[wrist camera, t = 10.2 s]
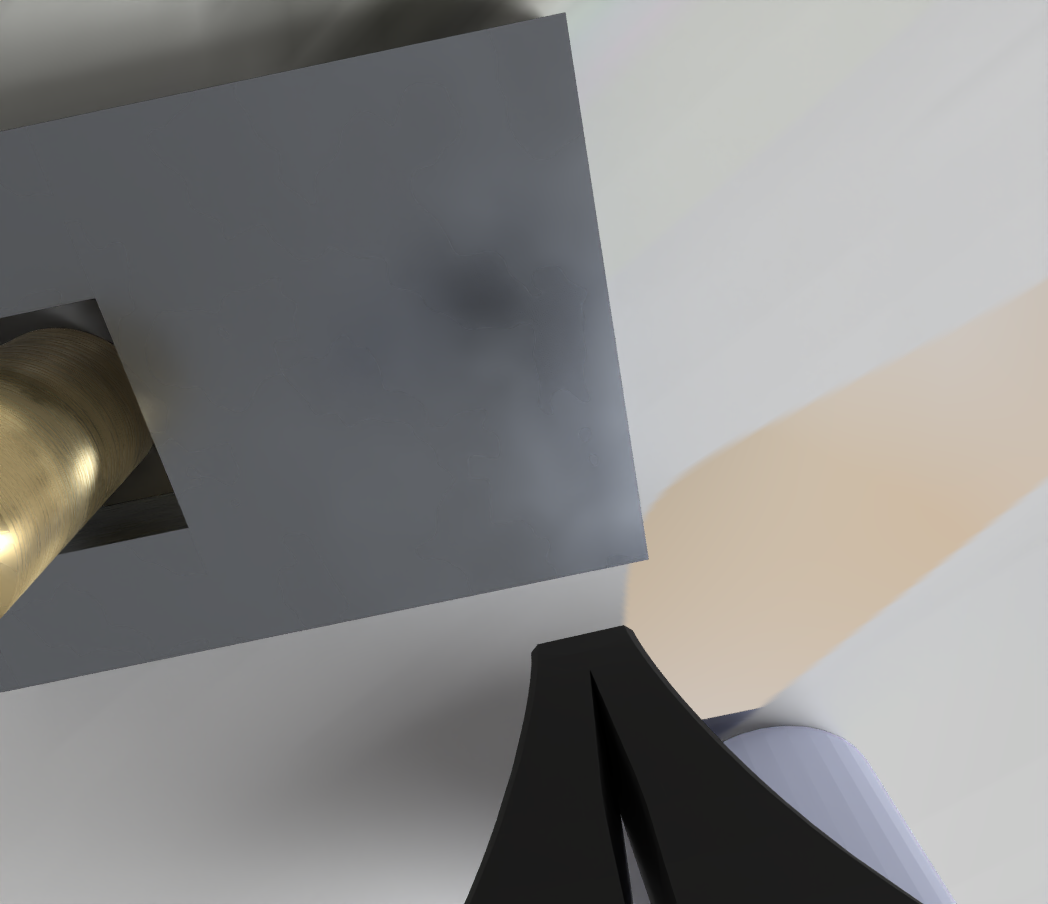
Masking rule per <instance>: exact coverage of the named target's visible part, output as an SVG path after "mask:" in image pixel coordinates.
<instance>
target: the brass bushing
mask: <svg viewBox="0 0 1048 904" xmlns="http://www.w3.org/2000/svg"><path fill="white" fill-rule="evenodd" d="M153 443H154V441H153V439H152V436H151V434H150V431H149V429H148V426H147V424H146V421H145V419H144V417H143V414H142V412H141V409H140V407H139V404H138V402H137V399H136V397H135V394H134V392H133V389H132V387H131V385H130V382H129V380H128V377H127V375H126V372H125V370H124V367H123V365H122V362H121V360H120V358H119V355H118V353H117V350H116V348H115V346H114V345H112V344H111V343H109V342H107V341H105V340H103V339H101V338H99V337H97V336H94V335H92V334H89V333H86V332H82V331H78V330H74V329H67V328H46V329H39V330H35V331H31V332H28V333H25V334H23V335H21V336H18V337H16V338H14V339H13V340H11V341H9V342H7V343H5V344H3V345H1V346H0V619H1V617H2V616H3V615H4V614H5V613H6V612H7V611H8V610H9V609H10V607H11V606H12V605H13V604H14V603H15V602H16V601H17V600H18V598H19V597H20V596H21V595H22V594H23V593H24V592H25V591H26V590H27V588H28V587H29V586H30V585H31V584H32V583H33V582H34V581H35V580H36V578H37V577H38V576H39V575H40V574H41V573H42V572H43V571H44V569H45V568H46V567H47V566H48V565H49V564H50V563H51V562H52V561H53V559H54V558H55V557H56V556H57V555H58V554H59V553H60V552H61V551H62V549H63V548H64V547H65V546H66V545H67V544H68V543H69V542H70V541H71V539H72V538H73V537H74V536H75V535H76V534H77V533H78V532H79V530H80V529H81V528H82V527H83V526H84V525H85V524H86V523H87V522H88V520H89V519H90V518H91V517H92V516H93V515H94V514H95V513H96V512H97V510H98V509H99V508H100V507H101V506H102V505H103V504H104V503H105V501H106V500H107V499H108V498H109V497H110V496H111V495H112V494H113V493H114V491H115V490H116V489H117V488H118V487H119V486H120V485H121V484H122V483H123V481H124V480H125V479H126V478H127V477H128V476H129V475H130V474H131V472H132V471H133V470H134V469H135V468H136V467H137V466H138V465H139V464H140V462H141V461H142V460H143V459H144V458H145V457H146V455H147V454H148V452H149V451H150V449H151V447H152V445H153Z"/></svg>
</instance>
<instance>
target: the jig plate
mask: <svg viewBox="0 0 1048 904" xmlns="http://www.w3.org/2000/svg"><path fill="white" fill-rule="evenodd" d="M94 298H96V301H97V303H98V306H99V308H100V311H101V313H102V316H103V318H104V321H105V323H106V326H107V328H108V330H109V333H110V335H111V338H112V340H113V343H114V345H115V348H116V350H117V353H118V355H119V358H120V360H121V362H122V365H123V367H124V370H125V372H126V375H127V377H128V380H129V382H130V385H131V387H132V389H133V392H134V394H135V397H136V399H137V402H138V404H139V407H140V409H141V412H142V414H143V417H144V419H145V421H146V424H147V426H148V429H149V431H150V434H151V436H152V439H153V441H154V444H155V446H156V449H157V451H158V453H159V456H160V458H161V461H162V463H163V466H164V468H165V471H166V473H167V476H168V478H169V480H170V483H171V485H172V488H173V490H174V492H173V493H168V494H164V495H159V496H154V497H149V498H144V499H139V500H135V501H130V502H125V503H120V504H115V505H110V506H106V507H101V508H99V509H98V510H97V512H96V513H95V514H94V515H93V516H92V517H91V518H90V519H89V520H88V522H87V523H86V524H85V525H84V526H83V527H82V528H81V529H80V530H79V532H78V533H77V534H76V535H75V536H74V537H73V538H72V539H71V541H70V542H69V543H68V544H67V545H66V546H65V547H64V548H63V549H62V551H61V552H60V553H59V554H58V555H57V556H56V557H55V558H54V559H53V561H52V562H51V563H50V564H49V565H48V566H47V567H46V568H45V569H44V571H43V572H42V573H41V574H40V575H39V576H38V577H37V578H36V580H35V581H34V582H33V583H32V584H31V585H30V586H29V587H28V588H27V590H26V591H25V592H24V593H23V594H22V595H21V596H20V597H19V598H18V600H17V601H16V602H15V603H14V604H13V605H12V606H11V607H10V609H9V610H8V611H7V612H6V613H5V614H4V615H3V616H2V617H1V619H0V692H5V691H10V690H15V689H20V688H25V687H30V686H34V685H39V684H44V683H49V682H54V681H59V680H64V679H68V678H73V677H78V676H83V675H88V674H93V673H98V672H103V671H107V670H112V669H117V668H122V667H127V666H132V665H137V664H142V663H146V662H151V661H156V660H161V659H166V658H171V657H176V656H180V655H185V654H190V653H195V652H200V651H205V650H210V649H215V648H219V647H224V646H229V645H234V644H239V643H244V642H249V641H253V640H258V639H263V638H268V637H273V636H278V635H283V634H288V633H292V632H297V631H302V630H307V629H312V628H317V627H322V626H327V625H331V624H336V623H341V622H346V621H351V620H356V619H361V618H365V617H370V616H375V615H380V614H385V613H390V612H395V611H400V610H404V609H409V608H414V607H419V606H424V605H429V604H434V603H439V602H443V601H448V600H453V599H458V598H463V597H468V596H473V595H477V594H482V593H487V592H492V591H497V590H502V589H507V588H512V587H516V586H521V585H526V584H531V583H536V582H541V581H546V580H551V579H555V578H560V577H565V576H570V575H575V574H580V573H585V572H589V571H594V570H599V569H604V568H609V567H614V566H619V565H624V564H628V563H633V562H638V561H643V560H648V552H647V546H646V539H645V533H644V526H643V519H642V513H641V506H640V500H639V493H638V486H637V480H636V473H635V467H634V460H633V454H632V447H631V440H630V434H629V427H628V421H627V414H626V408H625V401H624V394H623V388H622V381H621V375H620V368H619V362H618V355H617V348H616V342H615V335H614V329H613V322H612V316H611V309H610V302H609V296H608V289H607V283H606V276H605V270H604V263H603V256H602V250H601V243H600V237H599V230H598V224H597V217H596V210H595V204H594V197H593V191H592V184H591V178H590V171H589V164H588V158H587V151H586V145H585V138H584V132H583V125H582V118H581V112H580V105H579V99H578V92H577V86H576V79H575V72H574V66H573V59H572V53H571V46H570V40H569V33H568V26H567V20H566V13H560V14H555V15H551V16H546V17H541V18H536V19H532V20H527V21H522V22H517V23H513V24H508V25H503V26H498V27H494V28H489V29H484V30H479V31H475V32H470V33H465V34H460V35H456V36H451V37H446V38H441V39H437V40H432V41H427V42H423V43H418V44H413V45H408V46H404V47H399V48H394V49H389V50H385V51H380V52H375V53H370V54H366V55H361V56H356V57H351V58H347V59H342V60H337V61H332V62H328V63H323V64H318V65H313V66H309V67H304V68H299V69H295V70H290V71H285V72H280V73H276V74H271V75H266V76H261V77H257V78H252V79H247V80H242V81H238V82H233V83H228V84H223V85H219V86H214V87H209V88H204V89H200V90H195V91H190V92H186V93H181V94H176V95H171V96H167V97H162V98H157V99H152V100H148V101H143V102H138V103H133V104H129V105H124V106H119V107H114V108H110V109H105V110H100V111H95V112H91V113H86V114H81V115H76V116H72V117H67V118H62V119H58V120H53V121H48V122H43V123H39V124H34V125H29V126H24V127H20V128H15V129H10V130H5V131H1V132H0V318H3V317H7V316H12V315H17V314H22V313H27V312H31V311H36V310H41V309H46V308H51V307H55V306H60V305H65V304H70V303H74V302H79V301H84V300H89V299H94Z"/></svg>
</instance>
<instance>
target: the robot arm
mask: <svg viewBox="0 0 1048 904" xmlns="http://www.w3.org/2000/svg"><path fill="white" fill-rule="evenodd" d="M531 659H532V665H531V679H530V687H529V694H528V700H527V706H526V712H525V717H524V722H523V726H522V731H521V735H520V739H519V743H518V748H517V752H516V756H515V761H514V764H513V768H512V772H511V775H510V779H509V782H508V785H507V788H506V791H505V795H504V798H503V801H502V804H501V808H500V811H499V814H498V817H497V821H496V824H495V827H494V829H493V832H492V835H491V838H490V841H489V843H488V846H487V849H486V852H485V854H484V857H483V860H482V862H481V865H480V867H479V870H478V872H477V875H476V877H475V880H474V882H473V884H472V887H471V889H470V892H469V894H468V897H467V899H466V901H465V903H464V904H633V899H632V892H631V884H630V877H629V870H628V863H627V856H626V849H625V842H624V835H623V828H622V821H621V817H622V820H623V823H624V826H625V829H626V832H627V835H628V838H629V840H630V843H631V846H632V849H633V852H634V855H635V858H636V861H637V864H638V867H639V870H640V873H641V876H642V879H643V882H644V885H645V888H646V890H647V893H648V896H649V899H650V902H651V904H957V903H956V902H955V900H954V898H953V897H952V895H951V893H950V892H949V890H948V889H947V887H946V885H945V884H944V882H943V881H942V879H941V877H940V876H939V874H938V873H937V871H936V869H935V868H934V866H933V865H932V863H931V861H930V860H929V858H928V857H927V855H926V853H925V852H924V850H923V849H922V847H921V845H920V844H919V842H918V841H917V839H916V837H915V836H914V834H913V833H912V831H911V829H910V828H909V826H908V825H907V823H906V821H905V820H904V818H903V817H902V815H901V813H900V812H899V810H898V809H897V807H896V805H895V804H894V802H893V801H892V799H891V797H890V796H889V794H888V793H887V791H886V789H885V788H884V786H883V785H882V783H881V781H880V780H879V778H878V777H877V775H876V773H875V772H874V770H873V769H872V767H871V765H870V764H869V762H868V761H867V759H866V758H865V757H864V756H863V755H862V753H861V752H860V751H859V750H858V749H857V748H856V747H855V746H853V745H852V744H850V743H849V742H848V741H846V740H845V739H843V738H842V737H839V736H837V735H834V734H832V733H830V732H827V731H825V730H820V729H815V728H810V727H805V726H777V727H769V728H761V729H757V730H754V731H750V732H747V733H743V734H740V735H737V736H735V737H733V738H731V739H728V740H726V741H724V742H722V741H721V740H720V739H719V738H721V737H722V736H723V735H724V734H726V733H727V732H728V731H730V730H731V729H733V728H734V727H736V726H737V725H739V724H740V723H742V722H743V721H744V720H746V719H747V718H748V717H749V716H750V715H751V714H752V713H754V712H755V711H756V710H758V709H759V708H756V709H752V710H746V711H742V712H737V713H732V714H727V715H722V716H717V717H712V718H707V719H702V720H701V719H700V717H699V716H698V715H697V714H696V713H695V712H694V711H693V710H692V709H691V708H690V707H689V705H688V704H687V703H686V702H685V701H684V700H683V699H682V698H681V696H680V695H679V694H678V693H677V692H676V690H675V689H674V688H673V687H672V686H671V684H670V683H669V682H668V681H667V679H666V678H665V677H664V676H663V674H662V673H661V672H660V670H659V669H658V668H657V667H656V665H655V664H654V662H653V661H652V660H651V658H650V657H649V656H648V654H647V653H646V652H645V650H644V649H643V647H642V645H641V644H640V642H639V641H638V639H637V637H636V636H635V634H634V632H633V630H631V629H629V628H628V627H626V626H624V625H623V626H618V627H614V628H609V629H605V630H600V631H596V632H591V633H587V634H582V635H578V636H573V637H569V638H564V639H560V640H555V641H551V642H546V643H542V644H538V645H537V646H536V647H535V649H534V650H533V651H532V653H531Z"/></svg>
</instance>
